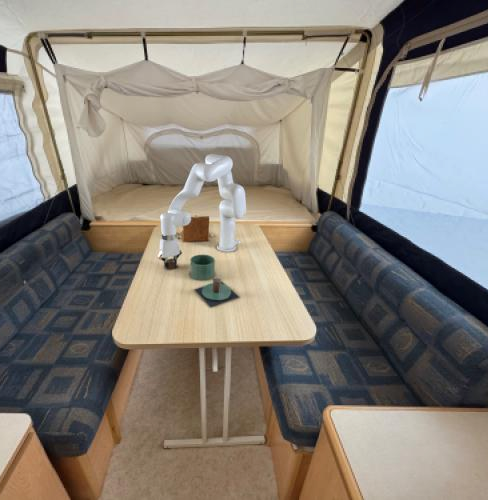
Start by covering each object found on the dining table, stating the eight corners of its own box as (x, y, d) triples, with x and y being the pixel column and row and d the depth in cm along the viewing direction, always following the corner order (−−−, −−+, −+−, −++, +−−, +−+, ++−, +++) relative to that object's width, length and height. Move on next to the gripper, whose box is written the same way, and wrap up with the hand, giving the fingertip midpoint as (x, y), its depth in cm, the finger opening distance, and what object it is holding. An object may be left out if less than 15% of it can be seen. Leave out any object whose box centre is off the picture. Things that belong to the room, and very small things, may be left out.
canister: (206, 266, 149) (207, 252, 145) (218, 276, 139) (219, 262, 135) (186, 271, 143) (186, 257, 139) (197, 282, 133) (197, 267, 130)
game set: (212, 231, 198) (212, 206, 190) (217, 243, 179) (218, 215, 170) (174, 232, 195) (173, 207, 187) (175, 244, 175) (174, 217, 167)
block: (172, 264, 150) (172, 258, 148) (175, 267, 147) (175, 261, 145) (166, 266, 148) (165, 259, 146) (168, 269, 145) (168, 262, 143)
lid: (220, 282, 133) (221, 270, 130) (236, 296, 122) (237, 283, 119) (196, 289, 127) (196, 276, 124) (211, 304, 116) (211, 291, 113)
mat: (221, 282, 134) (221, 281, 134) (238, 297, 122) (238, 296, 122) (194, 290, 127) (194, 289, 127) (210, 306, 115) (210, 306, 115)
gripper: (180, 231, 146) (181, 260, 154) (151, 236, 139) (154, 267, 147) (186, 235, 140) (187, 266, 148) (156, 241, 133) (158, 273, 141)
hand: (170, 266), depth 147 cm, fingers closed on block, 4 cm apart
